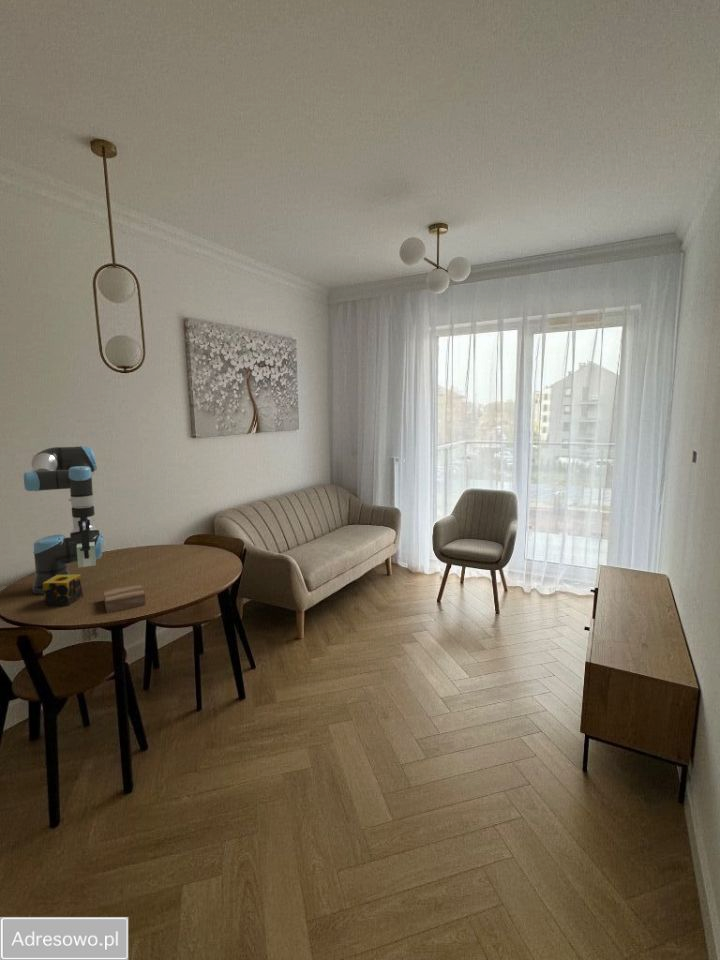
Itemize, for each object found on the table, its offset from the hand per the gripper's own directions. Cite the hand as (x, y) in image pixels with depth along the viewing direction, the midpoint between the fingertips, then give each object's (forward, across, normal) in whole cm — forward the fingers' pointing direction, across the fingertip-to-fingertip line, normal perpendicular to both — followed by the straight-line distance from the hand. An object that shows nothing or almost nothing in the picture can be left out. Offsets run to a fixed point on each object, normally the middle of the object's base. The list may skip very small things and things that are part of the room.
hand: (87, 563), depth 182 cm
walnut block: (+19, -1, +12) cm, 23 cm away
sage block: (0, 0, 0) cm, 0 cm away
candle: (+19, -15, -9) cm, 26 cm away
